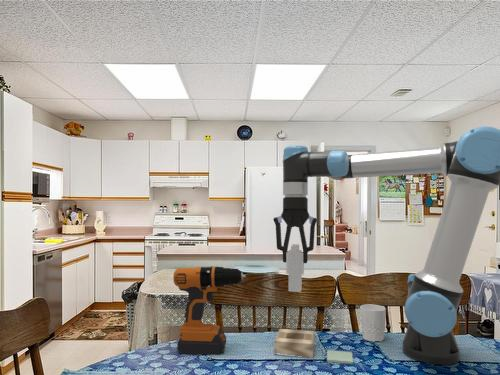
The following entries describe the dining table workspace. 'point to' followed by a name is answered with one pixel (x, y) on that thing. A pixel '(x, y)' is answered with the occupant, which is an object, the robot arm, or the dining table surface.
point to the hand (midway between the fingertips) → (295, 273)
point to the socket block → (295, 342)
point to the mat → (339, 357)
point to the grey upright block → (295, 269)
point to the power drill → (202, 307)
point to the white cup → (373, 322)
